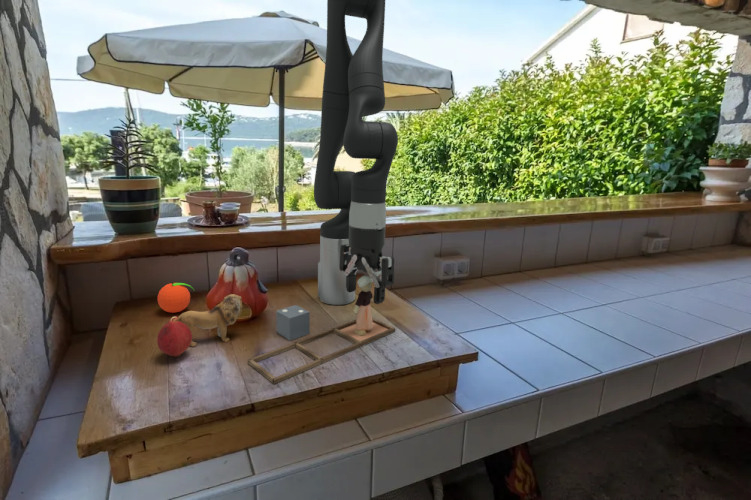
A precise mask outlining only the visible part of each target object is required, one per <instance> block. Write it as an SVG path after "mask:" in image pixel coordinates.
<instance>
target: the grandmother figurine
mask: <svg viewBox="0 0 751 500" xmlns="http://www.w3.org/2000/svg"><path fill="white" fill-rule="evenodd" d="M372 283H374V282H373V279H372V278H370V277H369V275H366V274H365V275H362V276H360V278H358V280H356V284H357V285H358V287H359V290H360V291H359V293H358V295H357V299H356V301H355V303H354V307H353V310H352V313H353V314H354V315H357V316H356V319H357V322H356V330H355V333H356V334H358V335H360V336H363V335H366V331H370V330H371V329H372V328H373V322H372V318H373V314H372V307H371V306H372V305H371V304H372V303H374V296H373V293H372V290H371V289H372Z"/></svg>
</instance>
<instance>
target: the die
mask: <svg viewBox="0 0 751 500" xmlns="http://www.w3.org/2000/svg"><path fill="white" fill-rule="evenodd" d="M275 313H276V314H275V315H276V317H275V318H276V319H275V320H276V333H278V335H280V336H282V337H283V338H285V339H287V340H288V341H293V340H295V339H299V338H301V337H303V336H307V335H309V334H310V333H311V332H310V331H311V330H310V328H311V327H310V318H311V317H310V314H311V313H310V311H308V310H307V309H305V308H303V307H301V306H299V305H297V304H295V305H292V306H291V305H290V306H289V307H285V308H281V309H277V310H276V312H275Z"/></svg>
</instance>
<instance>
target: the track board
mask: <svg viewBox="0 0 751 500" xmlns="http://www.w3.org/2000/svg"><path fill="white" fill-rule="evenodd" d="M356 322H357V318H356V319H354V320H352V321H348V322H346V323H343V324H341V325H340V324H339V325H338V326H335V327H332V328H329V329H327V330H324V331H322V332H318V333H315V334H313V335H310V336H308V337H305V338H303V339H302V338H301V339H300V340H297V341H295V342H292V343H289V344H286V345H284V346H281V347H278V348H274V349H273V350H270V351H268V352H265V353H262V354H259V355H256V356H254V357H251V358H248V359H247V363H248V365H249V366H250V367H252V368H253V369H254V370H256V371H257V372H258V373H259V374H261V376H263V377H264V378H266V379H267V380H268V381H269V382H271V383H272V384H273V385H276V384H278V383H280V382H283V381H286V380H288V379H290V378H292V377H295V376H297V375H299V374H301V373H303V372H306V371H308V370H310V369H312V368H316V367H317V366H319V365H322V364H324V363H326V362H329V361H332V360H333V359H334V360H335V359H336V358H338V357H341V356H342V355H345V354H347V353H349V352H352V351H353V350H356V349H358V348H361V347H363V346H365V345H368V344H370V343H373V342H375V341H376V340H379V339H381V338H385V337H386V336H388V335H390V334H392V333H395V332H396V328H395V327H393V326H391V325H389V324H387V323H385V322H383V321H381V320H379V319H378V320H377V319H376V318H373V317H372V322H373V328H372V329H371V330H370V331H366V335H363V336H360V335H358V334H356V333H355V330H356ZM331 334H334V335H335V334H336V335H337V336H340V338H343V339H345V340H347V341H348V342H351V343H352V344H351V345H349V346H346V347H344V348H342V349H339V350H337V351H334V352H332V353H329V354H328V355H325V356H322V357H321V356H319V355H318V354H316V353H314V352H313V351H312V350H310V349H308V348H307V347H305V346H303V345H305V344H308V343H310V342H311V343H312V342H313V341H316V340H318V339H321V338H324V337H326V336H327V337H328V335H331ZM295 348H296V349H297V350H299V351H300V352H302V353H304V354H305V355H306V356H308V357H309V358H311V359H312V360H313V361H310V362H309V363H305V364H304V365H302V366H299V367H297V368H294V369H292V370H290V371H287V372H285V373H282V374H280V375H278V376H274V375H273V374H272V373H270V372H269V371H268V370H266V369H265V368H264V367H263V366H262V365H260V364H259V362H260V361H264V360H265V359H269V358H271V357H273V356H276V355H280V354H282V353H284V352H286V351H289V350H292V349H295Z"/></svg>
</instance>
